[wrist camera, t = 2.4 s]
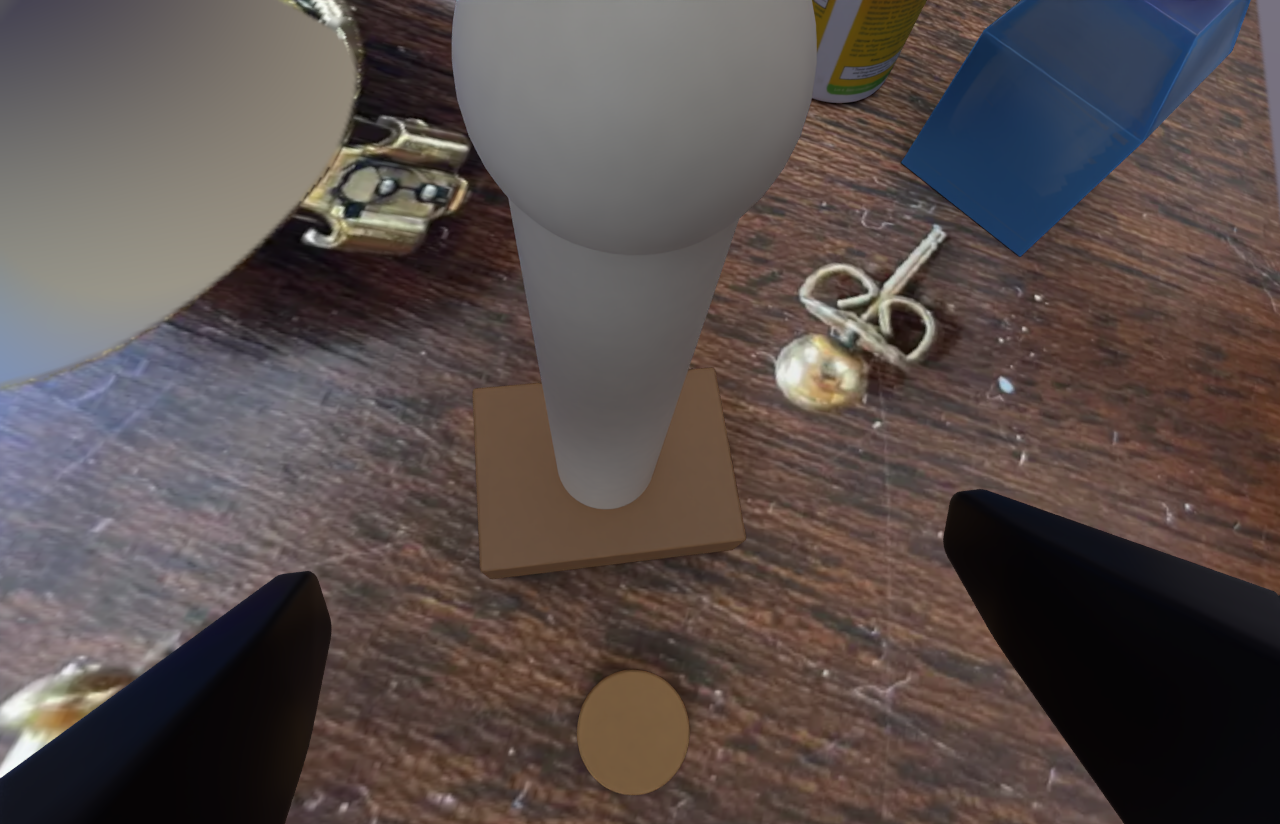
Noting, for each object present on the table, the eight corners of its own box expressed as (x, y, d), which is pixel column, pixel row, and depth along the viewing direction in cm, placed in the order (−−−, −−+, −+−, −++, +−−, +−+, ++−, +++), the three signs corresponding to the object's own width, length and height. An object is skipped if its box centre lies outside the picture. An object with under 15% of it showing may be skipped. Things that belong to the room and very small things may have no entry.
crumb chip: (704, 757, 19) (709, 761, 18) (603, 811, 18) (603, 818, 17) (658, 651, 20) (661, 650, 19) (560, 698, 19) (559, 700, 18)
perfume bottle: (984, 92, 29) (1229, -261, 18) (1099, 176, 28) (1440, -147, 17) (901, 162, 27) (1115, -181, 16) (1020, 257, 26) (1344, -46, 15)
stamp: (726, 555, 21) (1275, 146, 4) (495, 584, 20) (7, 219, 3) (700, 401, 23) (1004, -313, 6) (487, 421, 22) (148, -339, 5)
